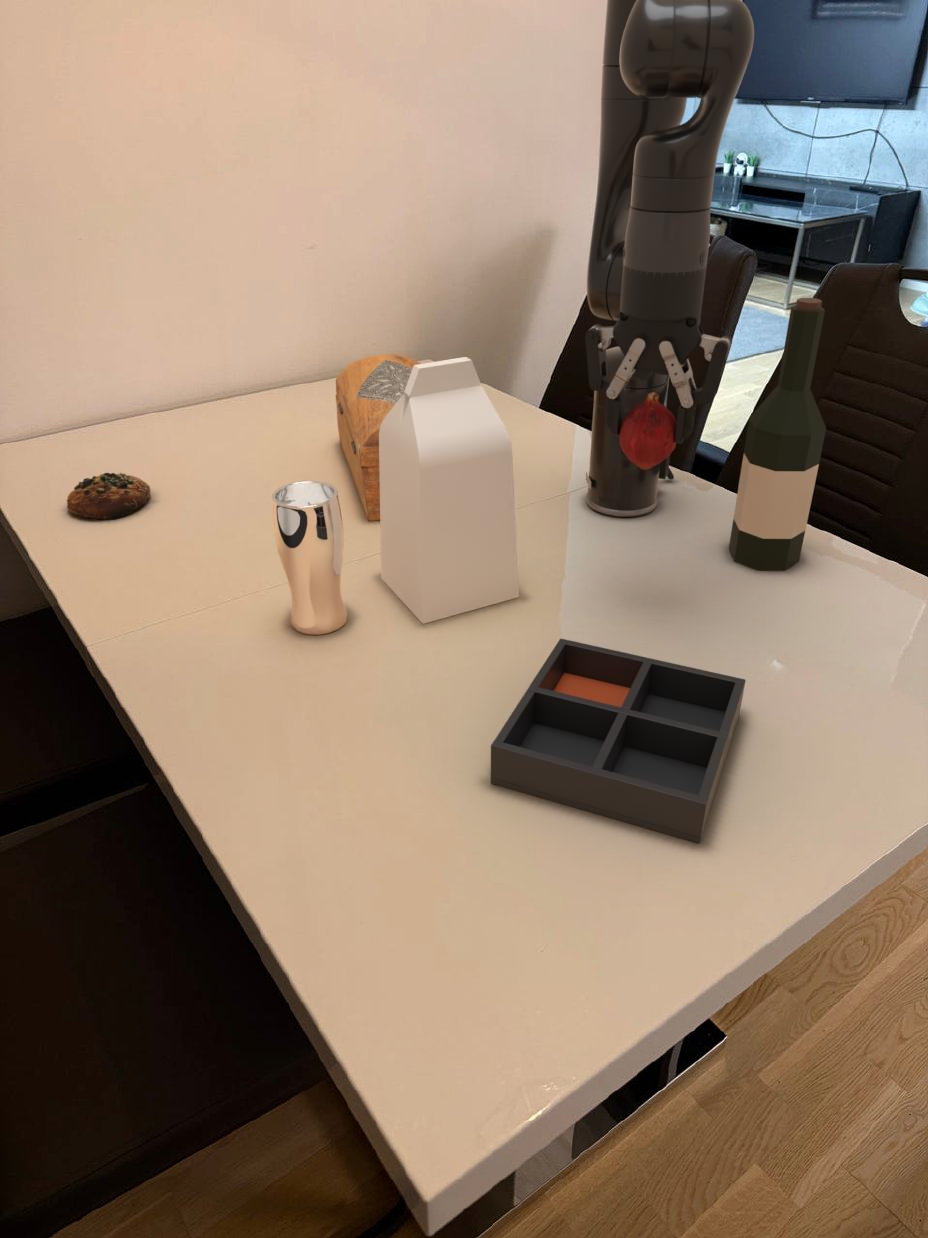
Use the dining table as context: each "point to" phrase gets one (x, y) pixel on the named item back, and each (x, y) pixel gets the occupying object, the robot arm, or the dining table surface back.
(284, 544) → the beer glass
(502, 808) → the dining table surface
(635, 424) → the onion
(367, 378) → the wooden box
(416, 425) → the milk
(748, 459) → the wine bottle
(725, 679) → the compartment tray
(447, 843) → the dining table surface
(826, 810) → the dining table surface
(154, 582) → the dining table surface
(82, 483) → the bread roll
